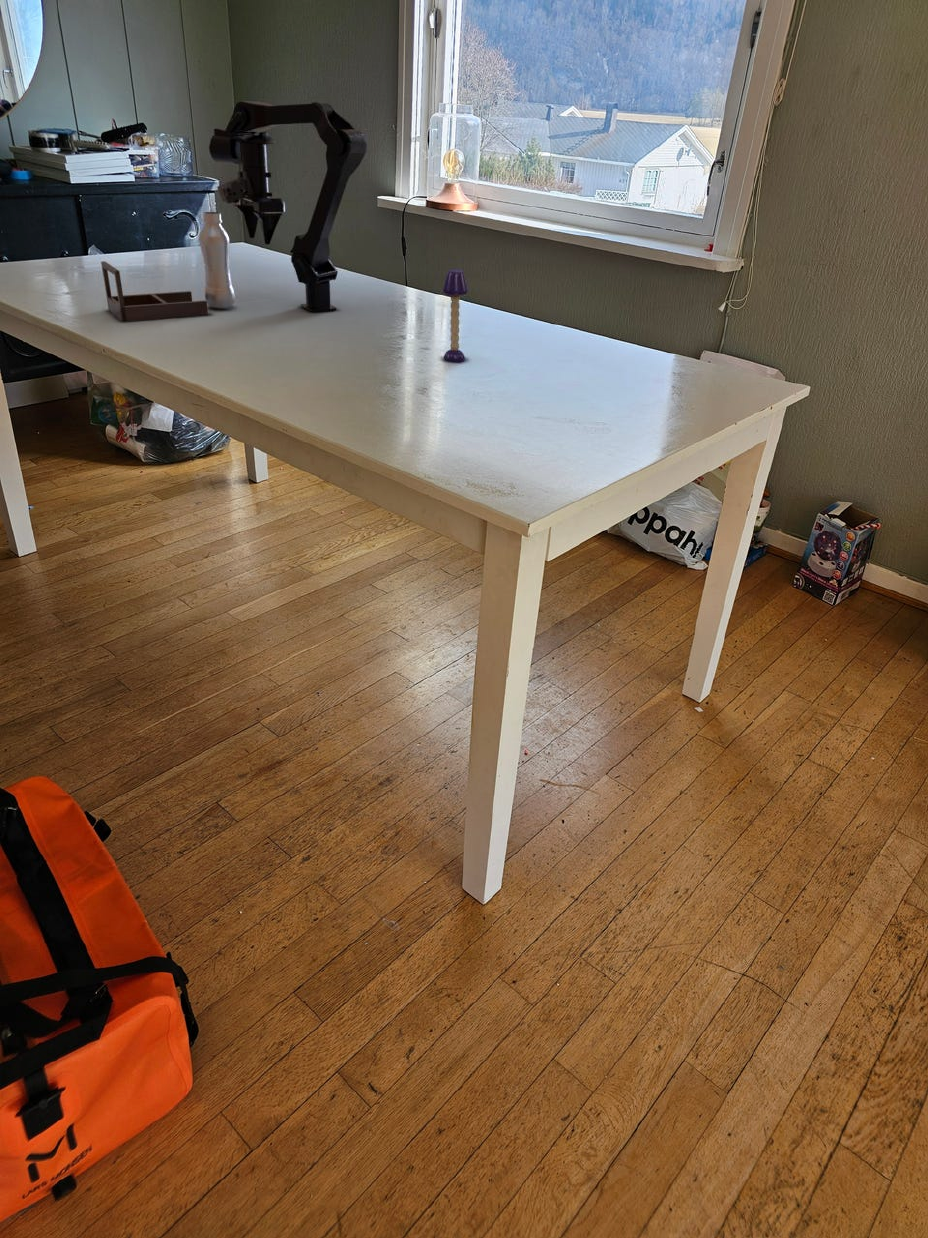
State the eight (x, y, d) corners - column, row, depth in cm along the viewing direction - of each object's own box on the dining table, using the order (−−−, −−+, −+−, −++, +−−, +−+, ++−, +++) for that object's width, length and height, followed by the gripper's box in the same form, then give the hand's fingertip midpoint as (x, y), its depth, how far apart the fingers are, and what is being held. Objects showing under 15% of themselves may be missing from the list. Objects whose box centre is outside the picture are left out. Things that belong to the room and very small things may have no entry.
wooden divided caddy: (208, 315, 190) (203, 266, 185) (122, 321, 181) (114, 270, 175) (191, 304, 198) (186, 257, 192) (108, 310, 188) (100, 261, 183)
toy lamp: (443, 362, 168) (447, 272, 159) (438, 356, 172) (441, 268, 163) (467, 362, 169) (472, 272, 160) (461, 355, 173) (465, 268, 164)
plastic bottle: (231, 311, 194) (223, 215, 183) (202, 309, 194) (192, 213, 183) (239, 305, 199) (231, 211, 189) (210, 303, 199) (201, 209, 189)
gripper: (205, 161, 194) (211, 235, 202) (235, 170, 181) (241, 248, 190) (251, 162, 200) (256, 234, 208) (284, 170, 187) (287, 247, 195)
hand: (259, 240), depth 200 cm, fingers open, 9 cm apart
